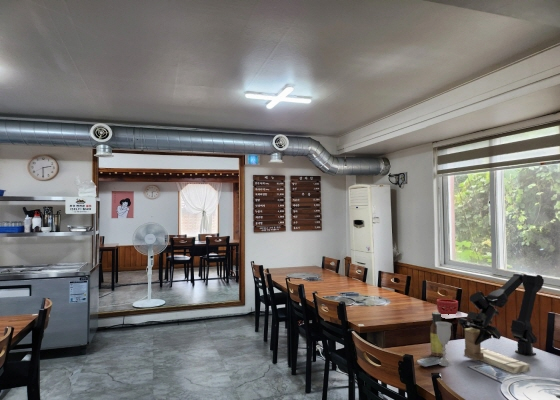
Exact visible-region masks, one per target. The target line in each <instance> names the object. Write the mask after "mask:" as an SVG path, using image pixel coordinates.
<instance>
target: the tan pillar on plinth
mask: <svg viewBox="0 0 560 400" xmlns="http://www.w3.org/2000/svg"><path fill="white" fill-rule="evenodd" d="M479 334H480V330H478V329H475V328H466V329H464V350H463V351H464V356H465V357H467V358H470V359H472V360H475V361H477V360H478V359H484V356H483V353H482V352H481V347H482V346H481V343H480V344H478V345H475V341H476V339H477V337H478V336H479ZM478 361H479V360H478Z"/></svg>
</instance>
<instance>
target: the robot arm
mask: <svg viewBox="0 0 560 400" xmlns="http://www.w3.org/2000/svg"><path fill="white" fill-rule="evenodd" d="M544 281H545V280H544V278H543V276H542V275H540V274H537V273H536V274H534V273H530V272H529V273H528V272H527V273H519V272H514V273H513V275H512V276H511V278H510V279H508V280H507V281H506V282H505V283H504V284H503V285H502V286H501V287H500V288H498V289H496V290H493V291H491V292H489V294H487V295H485V294H484V293H483V292H482V291H481V290H478V291H477V292H475V293H472V294H471V295H469V301H470V303H472V304H473V305H474V306H475V308H476V309H477V310H479V312H474V311H470V310H468V312H467V316H466V318H467V319H466V318H463V317H460V318H459V319H458V320H457V323H458V324H459V325H460V327H461V328H462V329H463V330H465V329H466V328H475V329H478V330H480V334H479V336H478V337H477V339H476V341H475V345H478V344H480V345H481V343H483V342H486V341H487V340H491V339H492V338H493V339H495V340H500V339H501V337H502V333H501V332H500V330H499V329H498V328H497V327H496V326H493V325H492V324H493V322H492V320H493V319H494V316H495V315H497V316H499V315H500V312H499V311H498V308H501V309H502V308H503V307H505V305H507V302H508V301H509V297H510V296H511V295H512V294H513V293H514V292H515V291H516V290H517V289H518V288H520V286H521V285H522V286H523V289H524V292H523V296H522V299H521V304H520V308H519V314H518V316H517V318H516V319H512V321H511V325H510V332H511V334H512V337H513V339H516V340H517V349H516V350H515V351H514V352H515V353H518V354H520V355H524V356H526V357H529V356H535V355H537V353H536V352H534V349H533V344H536V343H537V341H538V338H537V336H536V335H535V334H534V333H533V326H532V323H531V319H532V315H533V311H534V305H535V302H536V297H537V293H539V291H541V290H542V288H543V285H544V283H545V282H544ZM495 307H496V308H495ZM468 319H469V320H470V321H469V320H468Z"/></svg>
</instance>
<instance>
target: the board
mask: <svg viewBox="0 0 560 400" xmlns="http://www.w3.org/2000/svg"><path fill="white" fill-rule="evenodd" d="M481 352H482V353H483V356H484V359H478V361H480V362H483V363H486V364H489V365H491V366H494V367H496V368H499V369H501V370H503V371H505V372H508V373H511V374H519V373H522V372H523V373H524V372H527V371H530V370H531V369H530V368H531V367H530V366H531V364H530V363H527V362H524V361H521V360H518V359H515V358H512V357H510V356H507V355H506V354H505V355H504V354H501V353H498V352H496V351H492V350H490V349H487V348H485V347H482V346H481Z"/></svg>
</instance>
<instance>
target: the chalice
mask: <svg viewBox="0 0 560 400" xmlns="http://www.w3.org/2000/svg"><path fill="white" fill-rule="evenodd" d="M436 325H437V336H438V338H439V340H440V343H441V344H443V348H442V349H443V352H442V353H443V357H440V359H439V361H440V362H441V363H440V364H439V365H440V366H442V367H450V366H451V362H450V361H449V359H448V358H447V357H446V356H447V355H446V354H447V352H446V349H447V348H446V345H448V343H449V341H450V339H451V335H452V334H451V333H452V331H451V327H452V323H451V322H448V321H441V322H436Z"/></svg>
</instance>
